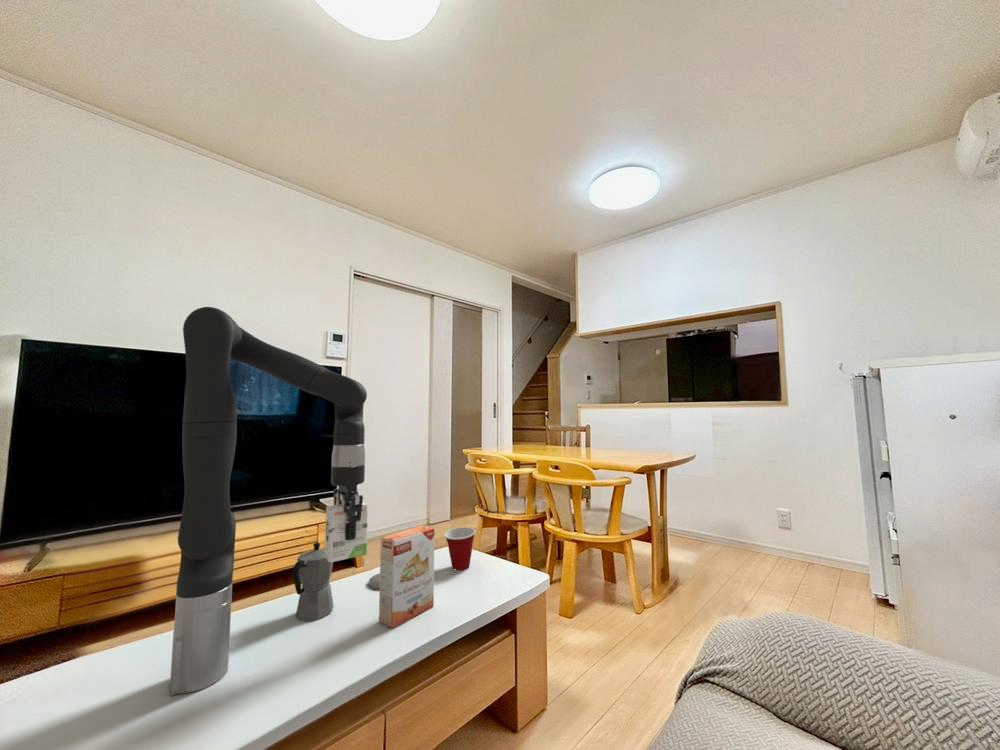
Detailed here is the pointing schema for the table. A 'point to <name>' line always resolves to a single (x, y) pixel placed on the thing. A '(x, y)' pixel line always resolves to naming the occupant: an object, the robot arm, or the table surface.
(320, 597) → the coffeepot
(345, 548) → the ink box
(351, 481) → the robot arm
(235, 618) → the table surface
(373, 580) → the glossy grey dome
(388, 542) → the cracker box
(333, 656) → the table surface
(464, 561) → the plastic cup
